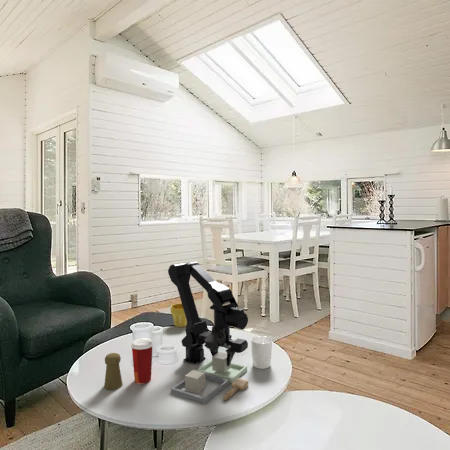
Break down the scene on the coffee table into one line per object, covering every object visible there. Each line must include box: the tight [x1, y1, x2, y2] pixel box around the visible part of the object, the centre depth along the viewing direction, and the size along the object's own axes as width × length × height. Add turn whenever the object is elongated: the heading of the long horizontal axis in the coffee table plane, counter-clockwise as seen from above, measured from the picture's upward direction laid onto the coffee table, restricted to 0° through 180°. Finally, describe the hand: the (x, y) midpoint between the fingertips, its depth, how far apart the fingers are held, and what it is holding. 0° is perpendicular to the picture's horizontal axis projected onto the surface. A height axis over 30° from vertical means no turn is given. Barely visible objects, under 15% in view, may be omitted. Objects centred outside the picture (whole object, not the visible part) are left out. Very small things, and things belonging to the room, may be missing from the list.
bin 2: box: [196, 359, 248, 384], centre depth 141 cm, size 15×12×2 cm
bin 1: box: [170, 374, 230, 405], centre depth 129 cm, size 14×15×2 cm
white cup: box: [250, 335, 273, 370], centre depth 147 cm, size 8×8×10 cm
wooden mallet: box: [222, 377, 249, 401], centre depth 126 cm, size 13×4×2 cm, turn 149°
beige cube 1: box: [211, 351, 232, 373], centre depth 141 cm, size 5×5×5 cm
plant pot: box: [170, 302, 187, 328], centre depth 193 cm, size 10×10×10 cm
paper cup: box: [130, 337, 154, 385], centre depth 135 cm, size 8×8×14 cm
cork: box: [103, 352, 123, 391], centre depth 131 cm, size 6×6×11 cm
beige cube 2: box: [184, 369, 207, 394], centre depth 129 cm, size 5×5×5 cm
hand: (222, 364), depth 141 cm, fingers closed on beige cube 1, 5 cm apart
